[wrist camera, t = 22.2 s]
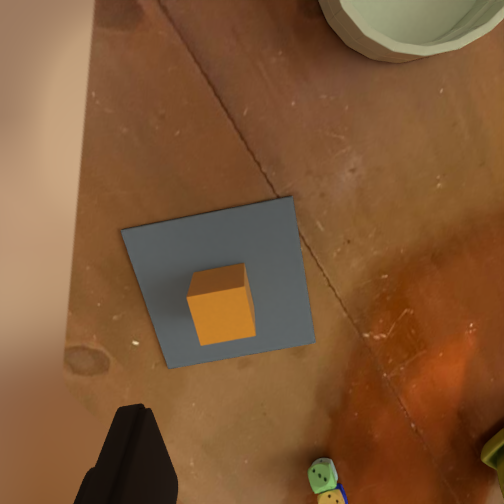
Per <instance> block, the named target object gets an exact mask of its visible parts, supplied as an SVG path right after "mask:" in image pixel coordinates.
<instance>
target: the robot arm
mask: <svg viewBox="0 0 504 504" xmlns="http://www.w3.org/2000/svg"><path fill="white" fill-rule="evenodd" d="M177 495H178V479H177V475H176V473H175V470H174V467H173V465H172V462H171V459H170V457H169V454H168V451H167V449H166V446H165V444H164V441H163V438H162V436H161V433H160V430H159V428H158V425H157V423H156V420H155V417H154V415H153V412H152V410H151V409H150V408H146V409H145V407H144V405H143V404H134V405H128V406H122V407H119V408H118V410H117V411H116V414H115V416H114V419H113V421H112V424H111V427H110V429H109V432H108V434H107V437H106V439H105V442H104V445H103V447H102V450H101V453H100V455H99V458H98V460H97V463H96V465H95V467H93V468H91V469H90V470H89V471H88V472H87V473H86V475H85V477H84V479H83V481H82V484H81V486H80V489H79V491H78V494H77V496H76V499H75V501H74V504H176V501H177Z"/></svg>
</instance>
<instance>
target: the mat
mask: <svg viewBox="0 0 504 504" xmlns="http://www.w3.org/2000/svg"><path fill="white" fill-rule="evenodd" d="M121 234H122V237H123V240H124V242H125V245H126V248H127V251H128V254H129V257H130V260H131V263H132V265H133V268H134V271H135V274H136V277H137V280H138V283H139V286H140V288H141V291H142V294H143V297H144V300H145V303H146V306H147V309H148V311H149V314H150V317H151V320H152V323H153V326H154V329H155V332H156V334H157V337H158V340H159V343H160V346H161V349H162V352H163V355H164V357H165V360H166V363H167V366H168V369H173V368H178V367H184V366H189V365H195V364H200V363H206V362H212V361H217V360H223V359H228V358H234V357H239V356H245V355H251V354H256V353H262V352H267V351H273V350H279V349H284V348H290V347H295V346H301V345H306V344H312V343H316V341H315V335H314V329H313V322H312V316H311V310H310V303H309V297H308V291H307V284H306V278H305V272H304V265H303V259H302V253H301V246H300V240H299V233H298V227H297V221H296V214H295V208H294V202H293V196H287V197H282V198H277V199H272V200H267V201H262V202H257V203H252V204H247V205H242V206H237V207H232V208H227V209H222V210H217V211H212V212H207V213H202V214H197V215H192V216H187V217H182V218H177V219H172V220H167V221H162V222H156V223H151V224H146V225H141V226H136V227H131V228H126V229H122V230H121ZM240 263H244V264H245V268H246V273H247V277H248V282H249V286H250V291H251V295H252V300H253V304H254V312H255V328H256V336H252V337H247V338H241V339H236V340H230V341H225V342H219V343H214V344H208V345H203V346H201V345H200V342H199V338H198V335H197V331H196V328H195V325H194V321H193V318H192V315H191V311H190V308H189V305H188V301H187V298H186V297H187V294H188V290H189V287H190V283H191V280H192V276H193V273H194V272H199V271H204V270H209V269H214V268H219V267H225V266H230V265H235V264H240Z"/></svg>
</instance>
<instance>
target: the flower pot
mask: <svg viewBox="0 0 504 504" xmlns="http://www.w3.org/2000/svg"><path fill="white" fill-rule="evenodd" d="M481 460H482V462H484V463H485V464H487V465H488V466H490V467H492V468H494V469H495V470H497V475H498V480H499V485H500V488H501V492H502V495H503V498H504V428H502V429H501V430H500V431H499V432H498V433H497V434H496V435H494V436H493V437H492V438H491V439H490V440H489V441H488V442H487V443H486V444H485V445H484V447H483V449H482V451H481Z"/></svg>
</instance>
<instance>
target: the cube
mask: <svg viewBox="0 0 504 504" xmlns="http://www.w3.org/2000/svg"><path fill="white" fill-rule="evenodd" d="M186 298H187V301H188V305H189V308H190V311H191V315H192V318H193V321H194V325H195V328H196V331H197V335H198V338H199V342H200V345H201V346H203V345H208V344H214V343H219V342H225V341H230V340H236V339H241V338H247V337H252V336H256V328H255V312H254V304H253V300H252V295H251V291H250V286H249V282H248V277H247V273H246V268H245V264H244V263H240V264H235V265H230V266H225V267H219V268H214V269H209V270H204V271H199V272H194V273H193V276H192V280H191V283H190V287H189V290H188V294H187V297H186Z"/></svg>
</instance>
